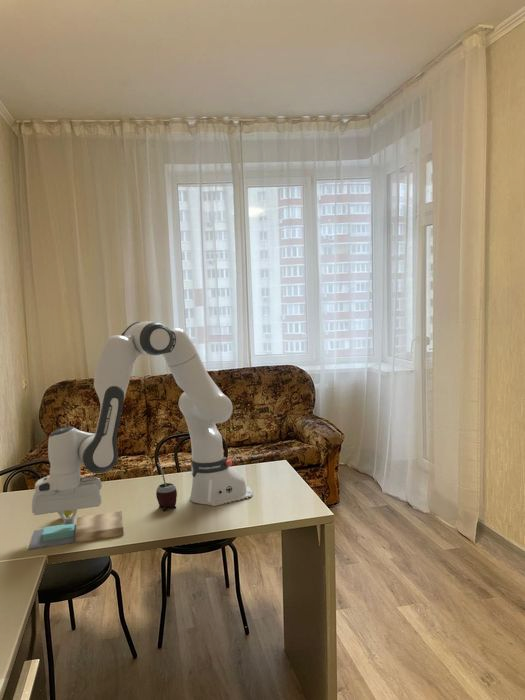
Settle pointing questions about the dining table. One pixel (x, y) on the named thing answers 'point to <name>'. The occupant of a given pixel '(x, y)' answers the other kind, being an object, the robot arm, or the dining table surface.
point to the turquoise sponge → (58, 532)
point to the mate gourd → (166, 494)
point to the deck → (99, 526)
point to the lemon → (67, 513)
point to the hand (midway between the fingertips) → (69, 523)
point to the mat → (39, 543)
